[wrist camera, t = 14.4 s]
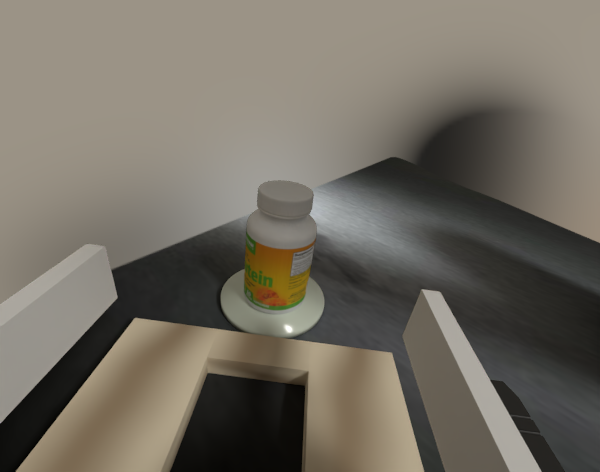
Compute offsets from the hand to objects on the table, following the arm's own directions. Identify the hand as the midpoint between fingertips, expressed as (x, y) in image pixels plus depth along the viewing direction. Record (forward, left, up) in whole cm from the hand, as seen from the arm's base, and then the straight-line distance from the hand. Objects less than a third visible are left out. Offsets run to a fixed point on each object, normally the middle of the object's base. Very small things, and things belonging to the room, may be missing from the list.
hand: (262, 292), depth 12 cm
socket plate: (0, +1, -9) cm, 9 cm away
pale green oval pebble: (0, -10, -9) cm, 14 cm away
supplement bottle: (0, -10, -9) cm, 13 cm away
